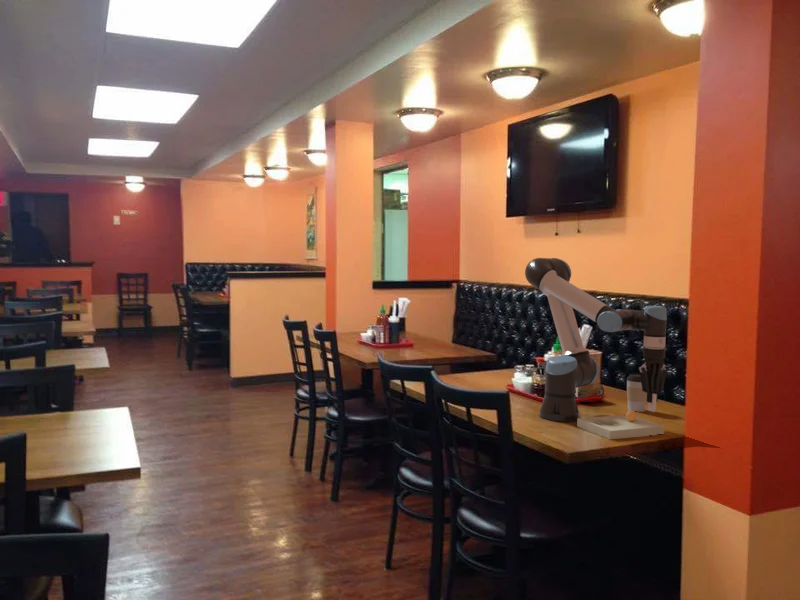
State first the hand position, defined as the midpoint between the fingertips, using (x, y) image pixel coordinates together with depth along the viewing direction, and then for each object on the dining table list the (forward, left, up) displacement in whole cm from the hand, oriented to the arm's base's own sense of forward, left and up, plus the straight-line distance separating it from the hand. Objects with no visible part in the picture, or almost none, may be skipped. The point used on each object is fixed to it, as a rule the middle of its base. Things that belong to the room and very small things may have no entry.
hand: (651, 410), depth 243 cm
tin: (-43, +6, -7) cm, 44 cm away
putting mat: (0, -14, -6) cm, 16 cm away
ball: (0, -9, -1) cm, 9 cm away
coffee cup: (-25, +16, -7) cm, 31 cm away
